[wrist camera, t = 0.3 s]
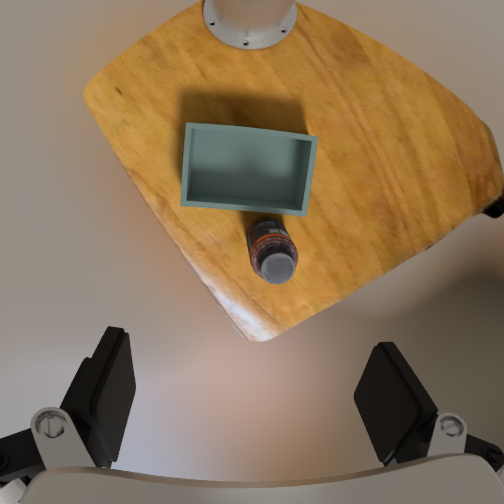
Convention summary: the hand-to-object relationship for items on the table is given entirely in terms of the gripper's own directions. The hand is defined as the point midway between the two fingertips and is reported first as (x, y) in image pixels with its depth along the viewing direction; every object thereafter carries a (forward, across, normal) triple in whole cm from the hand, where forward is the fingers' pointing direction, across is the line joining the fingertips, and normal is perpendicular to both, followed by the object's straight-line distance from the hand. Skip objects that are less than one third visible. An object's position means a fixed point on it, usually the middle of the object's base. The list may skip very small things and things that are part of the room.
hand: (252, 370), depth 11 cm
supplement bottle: (+35, -5, +6) cm, 36 cm away
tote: (+35, -1, -4) cm, 35 cm away
